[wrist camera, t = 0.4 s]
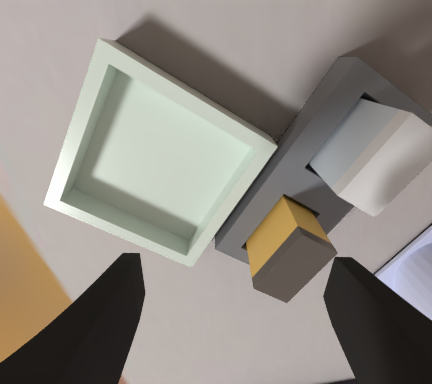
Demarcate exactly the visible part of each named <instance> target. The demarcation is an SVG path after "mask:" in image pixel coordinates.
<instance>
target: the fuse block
mask: <svg viewBox="0 0 432 384" xmlns="http://www.w3.org/2000/svg"><path fill="white" fill-rule="evenodd" d="M359 98H362V99H364V100H368V101H371V102H375V103H379V104H382V105H386V106H389V107H393V108H396V109H400V110H404V111H407V112H411V113H413V114H415V115H416V116H417V117H418V118H420V119H421V120H422V121H424V122H425V123H426V124H428V125H429V126H431V125H432V114H431V113H429V112H428V111H427V110H426V109H424V108H423V107H422V106H420V105H419V104H418V103H417V102H415V101H414V100H413V99H411V98H410V97H409V96H408V95H406V94H405V93H404V92H402V91H401V90H400V89H398V88H397V87H396V86H395V85H393V84H392V83H391V82H389V81H388V80H387V79H386V78H384V77H383V76H382V75H380V74H379V73H378V72H377V71H375V70H374V69H373V68H371V67H370V66H369V65H368V64H366V63H365V62H364V61H362V60H361V59H360V58H358V57H338V59H337V60H336V62H335V63H334V64H333V66H332V67H331V69H330V70H329V71H328V73H327V74H326V76H325V77H324V78H323V80H322V81H321V83H320V84H319V85H318V87H317V88H316V90H315V91H314V92H313V94H312V95H311V97H310V98H309V100H308V101H307V102H306V104H305V105H304V107H303V108H302V109H301V111H300V112H299V114H298V115H297V116H296V118H295V119H294V121H293V122H292V123H291V125H290V126H289V128H288V129H287V130H286V132H285V133H284V135H283V136H282V138H281V139H280V140H279V142H278V143H277V146H278V147H277V149H276V150H275V151H274V153H273V154H272V156H271V157H270V158H269V160H268V161H267V163H266V164H265V165H264V167H263V168H262V170H261V171H260V172H259V174H258V175H257V177H256V178H255V179H254V181H253V182H252V184H251V185H250V186H249V188H248V189H247V191H246V192H245V193H244V195H243V196H242V197H241V199H240V200H239V202H238V203H237V204H236V206H235V207H234V209H233V210H232V211H231V213H230V214H229V216H228V217H227V218H226V220H225V221H224V223H223V224H222V225H221V227H220V228H219V230H218V231H217V232H216V234H215V249H216V250H218V251H220V252H223V253H225V254H227V255H229V256H231V257H233V258H236V259H238V260H240V261H242V262H244V263H247V264H249V265H250V263H249V258H248V252H247V246H246V241H247V240H248V238H249V237H250V236H251V234H252V233H253V232H254V231H255V229H256V228H257V227H258V226H259V224H260V223H261V222H262V221H263V219H264V218H265V217H266V216H267V214H268V213H269V212H270V211H271V209H272V208H273V207H274V205H275V204H276V203H277V202H278V200H279V199H280V198H281V197H282V195H283V194H285V195H287V196H289V197H291V198H293V199H294V200H296V201H298V202H300V203H302V204H303V205H305V206H307V207H309V208H310V210H311V212H312V213H313V215H314V216H315V218H316V220H317V221H318V223H319V224H320V226H321V227H322V229H323V231H324V232H325V234H326V235H327V234H328V233H329V232H330V231H331V230H332V229H333V228H334V227H335V226H336V225H337V224H338V223H339V222H340V221H341V219H342V218H343V217H344V216H345V215H346V214H347V213H348V212H349V211H350V210H351V209H352V208H353V207H354V205H352V204H351V203H349V202H347V201H346V200H344V199H342V198H340V197H339V196H337V194H336V193H335V192H334V191H333V190H332V189H331V188H330V187H329V186H328V184H327V183H326V182H325V181H324V180H323V179H322V178H321V177H320V176H319V174H318V173H317V172H316V171H315V170H314V169H313V168H312V167H311V166H310V165H308V163H309V161H310V160H311V159H312V158H313V156H314V155H315V154H316V153H317V151H318V150H319V149H320V148H321V146H322V145H323V144H324V143H325V141H326V140H327V139H328V137H329V136H330V135H331V134H332V132H333V131H334V130H335V129H336V127H337V126H338V125H339V124H340V122H341V121H342V120H343V119H344V117H345V116H346V115H347V114H348V112H349V111H350V110H351V108H352V107H353V106H354V105H355V103H356V102H357V101H358V100H359Z"/></svg>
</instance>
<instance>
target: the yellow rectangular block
mask: <svg viewBox="0 0 432 384" xmlns="http://www.w3.org/2000/svg"><path fill="white" fill-rule="evenodd" d="M246 246H247V252H248V258H249V263H250V269H251V275H252V281H253V287H254V289H256V290H258V291H261V292H263V293H265V294H268V295H270V296H272V297H274V298H277V299H279V300H281V301H284V302H286V303H288V302H289V301H290V300H291V299H292V298H293V297H294V296H295V295H296V294H297V293H298V292H299V291H300V290H301V289H302V288H303V287H304V286H305V285H306V284H307V283H308V282H309V281H310V280H311V279H312V278H313V277H314V276H315V275H316V274H317V273H318V272H319V271H320V270H321V269H322V268H323V267H324V266H325V265H326V264H327V263H328V262H329V261H330V260H331V259H332V258H333V257H334V256H335V255H336V254H337V251H336V250H335V248H334V247H333V245H332V243H331V242H330V240H329V239H328V237H327V235H326V234H325V232H324V231H323V229H322V227H321V226H320V224H319V223H318V221H317V220H316V218H315V216H314V215H313V213H312V212H311V210H310V208H309V207H307V206H305V205H303V204H302V203H300V202H298V201H296V200H294V199H293V198H291V197H289V196H287V195H285V194H283V195H282V197H281V198H280V199H279V200H278V202H277V203H276V204H275V205H274V207H273V208H272V209H271V211H270V212H269V213H268V214H267V216H266V217H265V218H264V219H263V221H262V222H261V223H260V224H259V226H258V227H257V228H256V229H255V231H254V232H253V233H252V234H251V236H250V237H249V238H248V240H247V241H246Z"/></svg>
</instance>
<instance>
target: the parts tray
mask: <svg viewBox="0 0 432 384" xmlns="http://www.w3.org/2000/svg"><path fill="white" fill-rule="evenodd" d="M277 147H278V146H277V145H276V143H275V142H274V140H273V139H272V138H271V136H270V135H268V134H266V133H265V132H263V131H262V130H260V129H258V128H257V127H255V126H253V125H252V124H250V123H248V122H247V121H245V120H244V119H242V118H240V117H239V116H237V115H235V114H234V113H232V112H230V111H229V110H227V109H226V108H224V107H222V106H221V105H219V104H217V103H216V102H214V101H212V100H211V99H209V98H208V97H206V96H204V95H203V94H201V93H199V92H198V91H196V90H194V89H193V88H191V87H190V86H188V85H186V84H185V83H183V82H181V81H180V80H178V79H177V78H175V77H173V76H172V75H170V74H168V73H167V72H165V71H163V70H162V69H160V68H159V67H157V66H155V65H154V64H152V63H150V62H149V61H147V60H145V59H144V58H142V57H141V56H139V55H137V54H136V53H134V52H132V51H131V50H129V49H127V48H126V47H124V46H123V45H121V44H119V43H118V42H116V41H114V40H107V39H101V38H98V41H97V44H96V47H95V50H94V53H93V56H92V59H91V62H90V65H89V68H88V71H87V74H86V77H85V80H84V83H83V86H82V89H81V92H80V95H79V98H78V101H77V105H76V108H75V111H74V114H73V117H72V120H71V123H70V126H69V129H68V132H67V135H66V138H65V141H64V144H63V147H62V150H61V153H60V156H59V159H58V162H57V165H56V168H55V171H54V174H53V177H52V181H51V184H50V187H49V190H48V193H47V196H46V199H45V202H44V205H45V206H48V207H50V208H52V209H55V210H57V211H59V212H62V213H64V214H66V215H69V216H71V217H73V218H76V219H78V220H80V221H83V222H85V223H87V224H90V225H92V226H95V227H97V228H99V229H102V230H104V231H106V232H109V233H111V234H113V235H116V236H118V237H120V238H123V239H125V240H127V241H130V242H132V243H134V244H137V245H139V246H141V247H144V248H146V249H148V250H151V251H153V252H155V253H158V254H160V255H162V256H165V257H167V258H169V259H172V260H174V261H177V262H179V263H181V264H184V265H186V266H188V267H192V266H193V265H194V263H195V262H196V260H197V259H198V258H199V256H200V255H201V253H202V252H203V251H204V249H205V248H206V246H207V245H208V244H209V242H210V241H211V239H212V238H213V237H214V235H215V234H216V232H217V231H218V230H219V228H220V227H221V225H222V224H223V223H224V221H225V220H226V218H227V217H228V216H229V214H230V213H231V211H232V210H233V209H234V207H235V206H236V204H237V203H238V202H239V200H240V199H241V197H242V196H243V195H244V193H245V192H246V191H247V189H248V188H249V186H250V185H251V184H252V182H253V181H254V179H255V178H256V177H257V175H258V174H259V172H260V171H261V170H262V168H263V167H264V165H265V164H266V163H267V161H268V160H269V158H270V157H271V156H272V154H273V153H274V151H275V150H276V149H277Z"/></svg>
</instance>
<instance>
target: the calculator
mask: <svg viewBox="0 0 432 384" xmlns="http://www.w3.org/2000/svg"><path fill="white" fill-rule="evenodd" d="M329 384H358V382H357V380H355V379H353V380H347V381H341V382H335V383H329Z"/></svg>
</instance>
